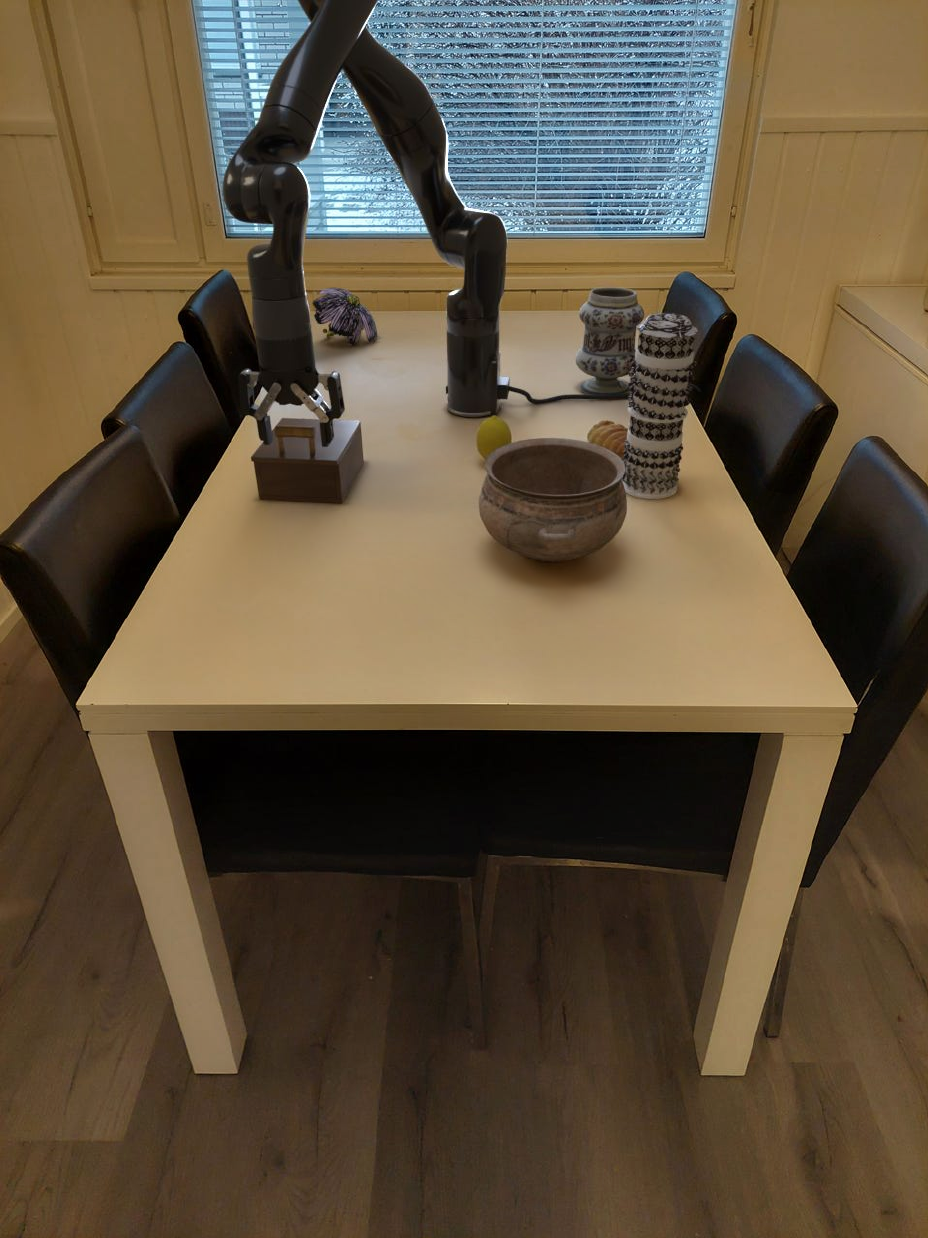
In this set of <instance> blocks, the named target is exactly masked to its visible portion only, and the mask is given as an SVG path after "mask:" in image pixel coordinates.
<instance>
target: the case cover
mask: <svg viewBox="0 0 928 1238" xmlns="http://www.w3.org/2000/svg"><path fill="white" fill-rule="evenodd" d="M320 422H321V420H320V419H319V418H296V417H295V418H294V417H293V418H292V417H282V418H281V419H280V420H279V421H278V423H277V424H276V425H275V426H274V428H272V436H273V441H272V442H271V444H270V445H264V443H263V442H261V444H260V445H259V446H258V447H257V449H256V450H255V451H254V452H253V453H252V455H251V456H250V462H252V463H254V462H276V463H299V464H322V465H338V463H339V461H340V460H341V458H342V456H343V454H344V453H345V451H346V449H347V448H348V446H349V444H350V443H351V441H352V439H353V437H354V436H355V434H356V432H357V431H358V429H359V427H360V426H362V423H361V422H362V421H361V420H348V419H347V420H344V419H333V430H334V438H333V440H332V442H331V443H330V444H329V446H328V447H322V441H321V432H320Z"/></svg>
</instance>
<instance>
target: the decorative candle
mask: <svg viewBox="0 0 928 1238" xmlns="http://www.w3.org/2000/svg"><path fill="white" fill-rule="evenodd" d="M692 323H693V322H692V321H691V320H690V318H688V316H685V315H683V314H680V313H675V312H658V313H657V312H656V313H653V314H650V315H648V316H647V317H646V318H645V320H643V322H641V323H640V324H639V325H637V327H636V330H637V331H638V332H639V333H638V338H637V342H638V344H637V348H635V349H636V354H635V356H632V357H631V358H630V362H631V363H630V365H631V366H632V369H631V372H630V373H629V375H628V376H629V378H630V379H629V380H630V381H629V382H628V386H629V391H630V396H629V397H628V398H627V401H628V407H627V412H628V415H629V416H630V418H629V427H628V432H627V440H626V441H625V442H624V444H625V448H626V450H625V451H624V452H623V454H624V458H625V459H623V460H622V461H623V463H624V465H625V473H624V475H623V477H622V478H621V479H622V482H623V485H624V488H625V493H626V495H627V494H628V495H630V496H632V497H636V498H638V499H644V500H645V499H646V500H661V499H666V498H670V497H672V496H673V495H675V494H676V492H677V490H678V482H679V481H680V478H679V473H680V472H681V468H680V463H681V461H682V458H683V457H682V456H681V455H682V454H681V453H682V452H683V450H684V446H683V437H684V436H683V435H684V433H683V426H684V419H686V418H687V417H688V414H689V410H688V409H687V408H686V407H688V406H689V405H691V403H692V400H691V398H690V397H689V396H690V395H691V394H692V393H693V392H694V390H693V388H691V387H690V386H689V385H687V384H688V383H691V382H692V381H694V380H695V379H696V378H697V376H696V374H695V373H694V372H693V371H694V370H696V369H697V368H698V366H699V363H698V362H697V361H695V360H694V356H695V351H694V347H695V341H696V334H697V333H698V332H699V329H698V328H697V327H696V326H694V325H693V324H692ZM636 362H637V365H636Z"/></svg>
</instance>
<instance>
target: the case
mask: <svg viewBox="0 0 928 1238" xmlns="http://www.w3.org/2000/svg"><path fill="white" fill-rule="evenodd" d="M362 434H363V433H362V425H360V427H359V429H358V431H357V432H356V434H355V436H354V437H353V439H352V441H351V443H350V444H349V446H348V448H347V449H346V451H345V453H344V454H343V456H342V458H341V460H340V461H339V463H338V465H322V464H299V463H276V462H253V467H254V468H253V469H254V474H255V480H256V487H257V494H258V499H259V500H268V501H288V502H306V503H307V502H308V503H309V502H310V503H329V504H330V503H331V504H343V503H344V501H345V499H346V498H347V496H348V493H349V492H350V489H351V488H352V486H353V484H354V482H355V480H356V478H357V476H358V474H359V472H360V470H361V469H362V467H363V465H364V463H365V462H364V461H365V460H364V447H363V435H362Z"/></svg>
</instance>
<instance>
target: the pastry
mask: <svg viewBox="0 0 928 1238" xmlns="http://www.w3.org/2000/svg"><path fill="white" fill-rule="evenodd" d="M628 429H629V427H628V428H627V427H625V426H624V425H623V424H620V423H615V422H614V421H611V420H608V419H606V420H601V421H599V422H598V423H596V424H594V425H593V426H592V427H591V428H590V430H589V432H588V433H587V442H588V443H592V444H596V445H598V446H601V447H604V448H606V449H608V450H610V451H612V452H613V453H615V454H616V455H617V456H619V457H620V459H621V460H625V458H624V454H623V452H624V451H625V450H626V448H625V444H624V442H625V441H626V440H627V432H628Z"/></svg>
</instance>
